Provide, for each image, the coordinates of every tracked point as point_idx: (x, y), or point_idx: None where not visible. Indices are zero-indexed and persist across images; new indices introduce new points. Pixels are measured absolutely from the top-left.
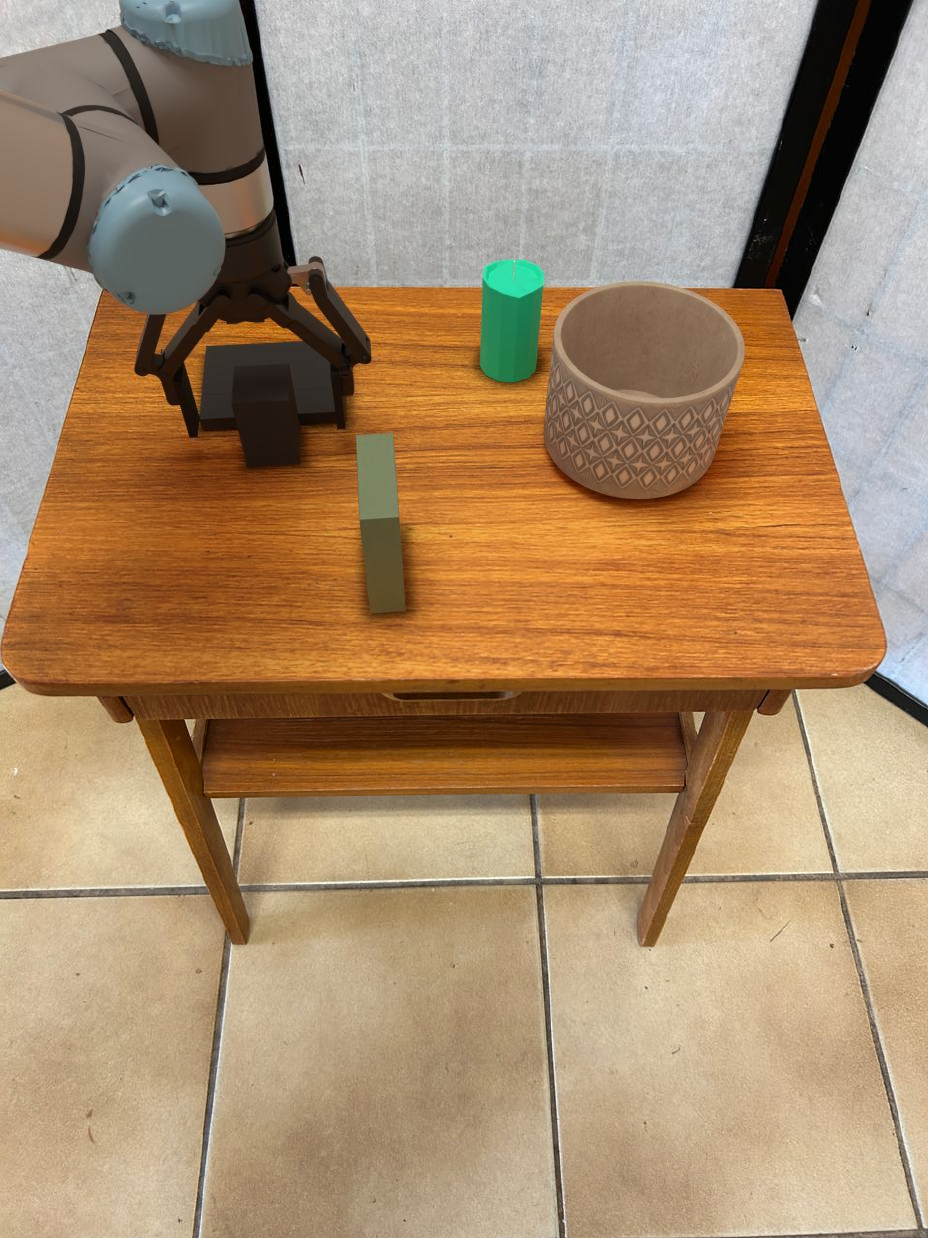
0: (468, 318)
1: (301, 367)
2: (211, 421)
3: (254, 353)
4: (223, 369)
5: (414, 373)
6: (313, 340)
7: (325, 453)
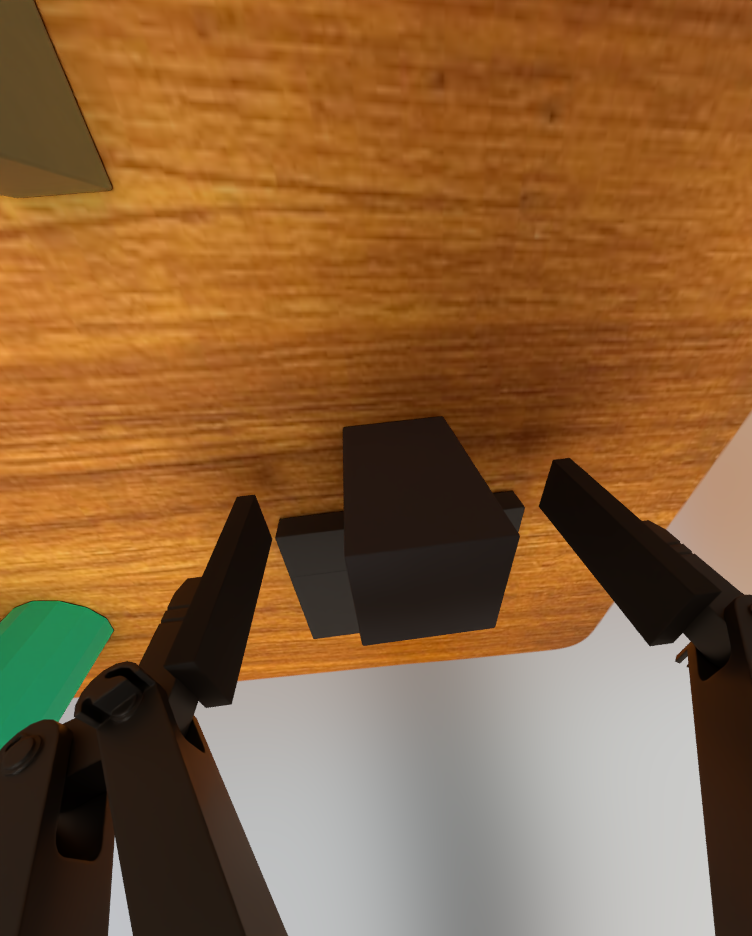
0: None
1: None
2: (503, 504)
3: None
4: None
5: None
6: (175, 908)
7: (299, 455)
